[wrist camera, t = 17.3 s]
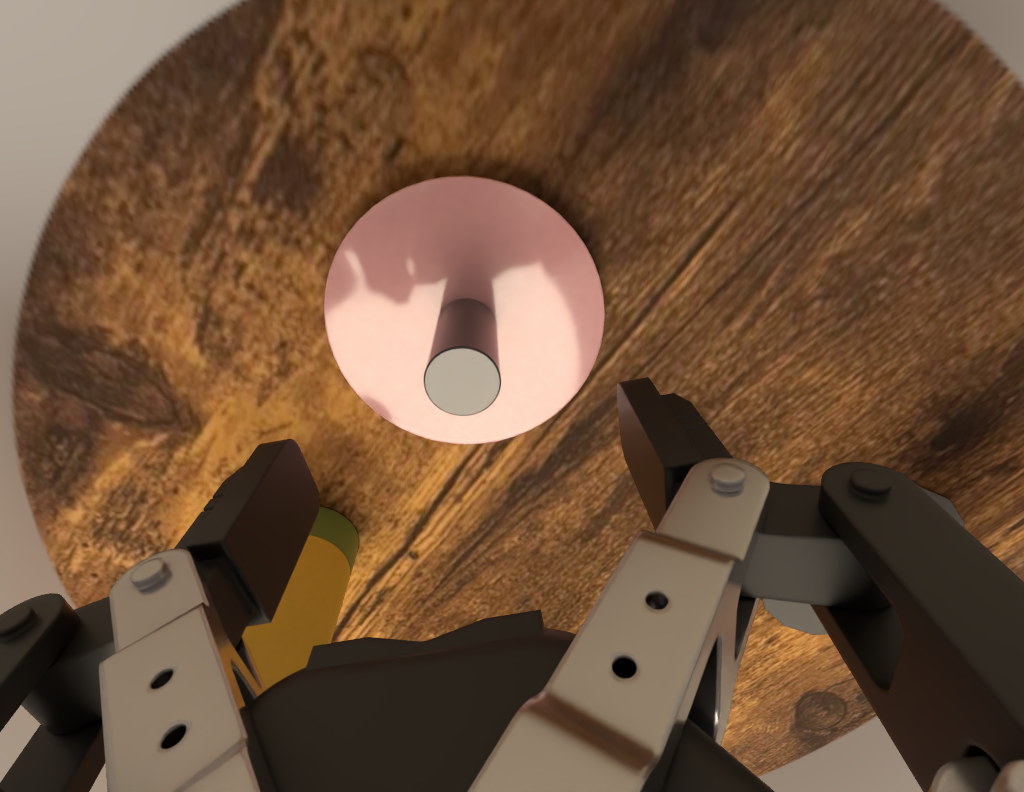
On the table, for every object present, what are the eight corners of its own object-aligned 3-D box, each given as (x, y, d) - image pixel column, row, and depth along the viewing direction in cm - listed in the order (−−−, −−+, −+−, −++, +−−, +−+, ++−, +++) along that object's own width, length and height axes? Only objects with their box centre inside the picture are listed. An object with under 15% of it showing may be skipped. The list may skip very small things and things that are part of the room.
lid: (328, 414, 23) (280, 503, 18) (334, 146, 18) (270, 153, 13) (566, 444, 24) (590, 535, 19) (630, 203, 20) (689, 231, 14)
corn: (272, 566, 27) (39, 1049, 13) (269, 500, 25) (-9, 985, 11) (357, 573, 28) (225, 1044, 13) (361, 509, 26) (211, 982, 11)
